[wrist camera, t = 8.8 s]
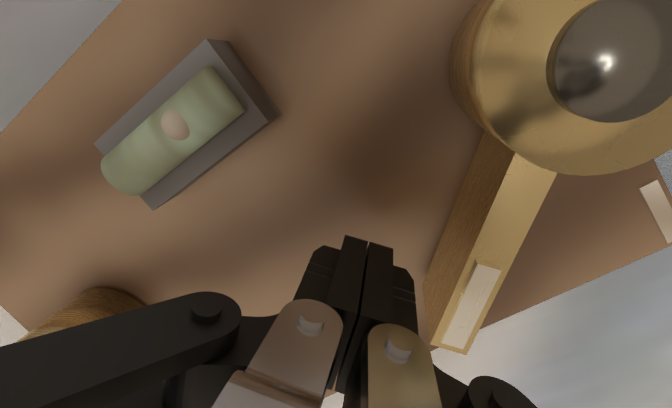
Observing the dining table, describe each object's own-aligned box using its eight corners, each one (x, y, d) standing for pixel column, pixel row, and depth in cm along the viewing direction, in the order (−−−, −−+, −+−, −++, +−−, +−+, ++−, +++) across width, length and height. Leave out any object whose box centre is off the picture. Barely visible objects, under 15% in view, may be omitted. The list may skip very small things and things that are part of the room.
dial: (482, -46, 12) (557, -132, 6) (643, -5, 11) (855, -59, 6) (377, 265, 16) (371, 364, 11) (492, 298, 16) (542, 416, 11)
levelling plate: (-52, 214, 20) (-174, 256, 16) (413, -274, 11) (428, -485, 7) (184, 441, 24) (139, 524, 20) (664, 220, 15) (772, 283, 11)
